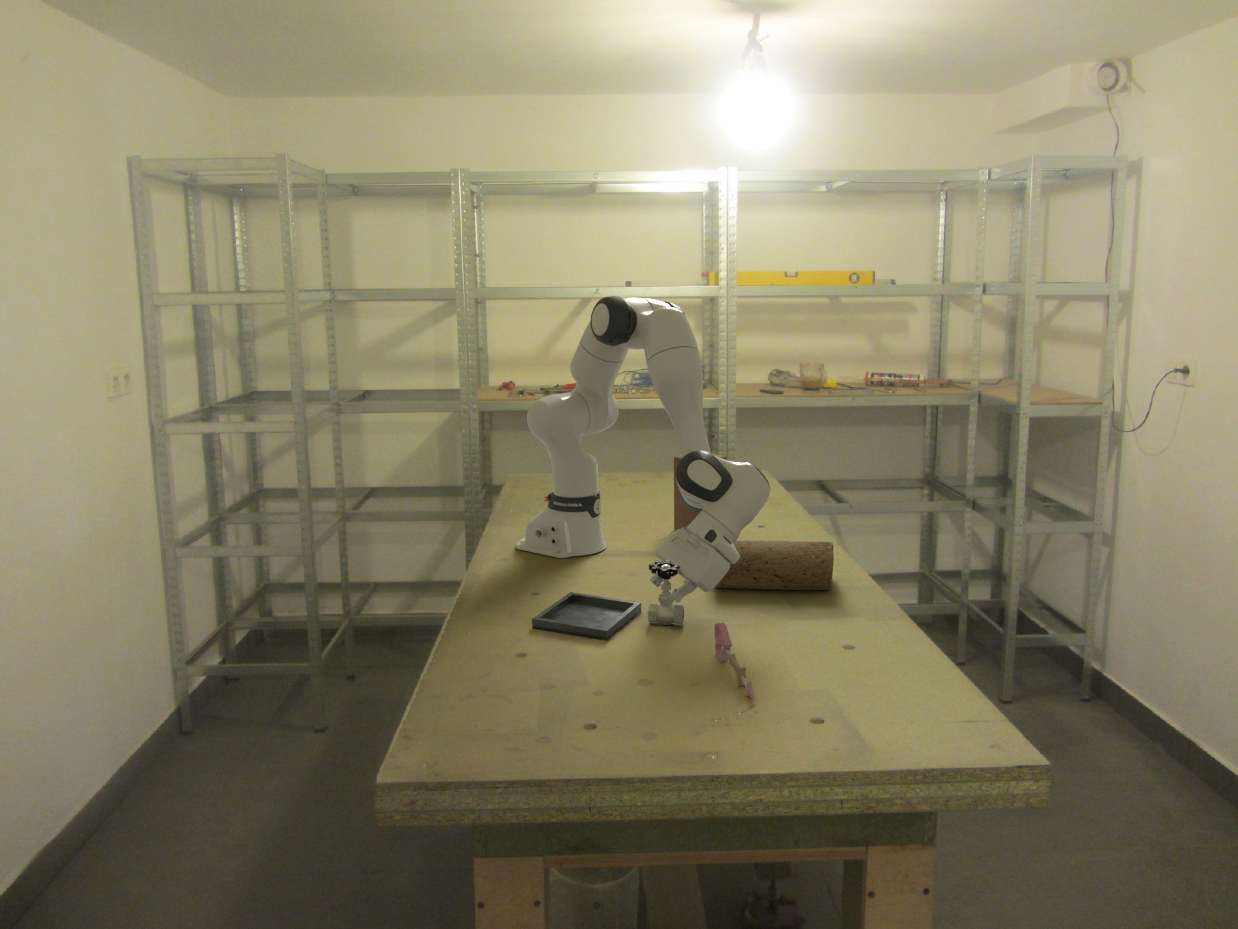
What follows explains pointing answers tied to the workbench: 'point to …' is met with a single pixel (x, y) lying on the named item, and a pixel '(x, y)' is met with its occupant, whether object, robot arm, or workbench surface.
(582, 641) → the workbench surface
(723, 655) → the decorative key
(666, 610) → the valve
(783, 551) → the core sample
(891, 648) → the workbench surface
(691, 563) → the robot arm
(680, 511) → the wooden block
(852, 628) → the workbench surface
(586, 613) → the dark gray tray
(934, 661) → the workbench surface
